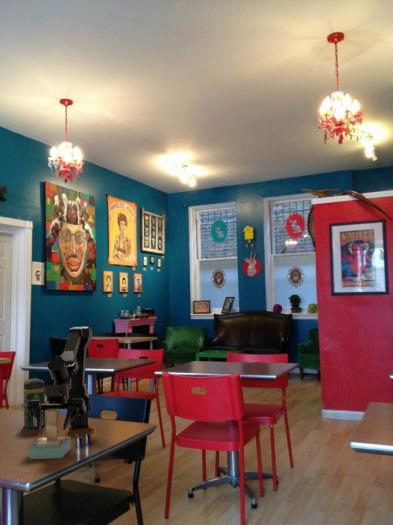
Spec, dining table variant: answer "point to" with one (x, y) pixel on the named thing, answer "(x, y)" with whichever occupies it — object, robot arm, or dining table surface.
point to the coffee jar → (33, 391)
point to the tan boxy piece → (51, 429)
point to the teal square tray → (50, 450)
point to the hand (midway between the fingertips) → (51, 430)
